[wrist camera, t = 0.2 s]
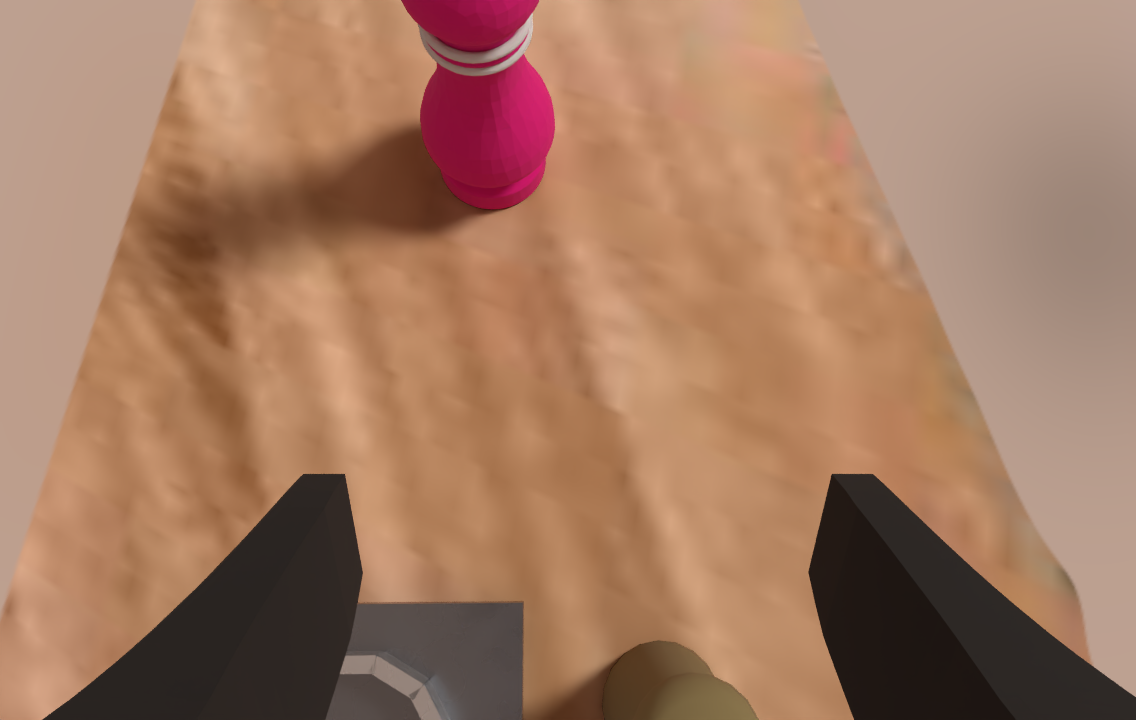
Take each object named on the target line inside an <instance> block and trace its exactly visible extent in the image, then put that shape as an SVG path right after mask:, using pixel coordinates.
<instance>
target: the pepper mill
mask: <svg viewBox="0 0 1136 720" xmlns="http://www.w3.org/2000/svg"><path fill="white" fill-rule="evenodd" d="M401 1H402V3H403V4H404V6H405V8H406V10H407V12H408V13H409V14H410V15H411V17H412V18H413V19H414V20H415V21H416V22H417V23H418V27H419V31H420V36H421V39H422V42H423V45H424V47H425V49H426V50H427V52H428V54H429V55H430V56H431V57H432V58H433V59H434V60H435V61H436V62H437V69H436V71H435V73H434V74H433V75H432V77H431V78H430V80H429V83H428V85H427V87H426V89H425V92H424V96H423V100H422V105H421V110H420V122H421V130H422V136H423V141H424V144H425V146H426V149H427V151H428V153H429V154H430V156H431V158H432V160H433V161H434V162H435V163H436V165H437V166H438V167H439V168H440V170H441V174H442V177H443V179H444V181H445V183H446V185H447V187H448V188H449V189H450V191H451V192H452V193H453V194H454V195H455V196H456V197H458V198H459V199H460V200H462V201H463V202H465V203H467V204H469V205H472V206H475V207H478V208H483V209H502V208H507V207H510V206H513V205H515V204H517V203H519V202H521V201H523V200H524V199H526V198H527V197H528V196H530V195H531V194H532V193H533V192H534V190H535V189H536V188H537V186H538V185H539V183H540V182H541V179H542V177H543V174H544V171H545V164H546V156H547V154H548V151H549V149H550V147H551V145H552V141H553V138H554V131H555V119H554V111H553V105H552V100H551V97H550V95H549V92H548V90H547V88H546V86H545V83H544V82H543V80H542V78H541V76H540V75H539V74H538V73H537V71H536V70H535V69H534V68H533V67H532V66H531V64H530V63H529V62H528V61H527V59H526V57H525V55H524V53H525V51H526V49H527V47H528V46H529V43H530V41H531V37H532V32H533V21H532V17H533V11H534V10H535V8H536V6H537V4H538V2H539V0H401Z"/></svg>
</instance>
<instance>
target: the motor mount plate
mask: <svg viewBox="0 0 1136 720" xmlns="http://www.w3.org/2000/svg"><path fill="white" fill-rule="evenodd" d="M523 609H524V601H508V602H388V603H357V609H356V614H355V619H354V624H353V629H352V634H351V639H350V642H349V645H348V649H347V652H346V655H345V659H344V662H343V665H342V668H341V671H340V675H339V678H338V681H337V684H336V688H335V691H334V694H333V697H332V700H331V703H330V707H329V710H328V713H327V716H326V719H325V720H523Z"/></svg>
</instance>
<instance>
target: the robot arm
mask: <svg viewBox="0 0 1136 720" xmlns="http://www.w3.org/2000/svg"><path fill="white" fill-rule="evenodd" d="M362 574H363V571H362V566H361V560H360V555H359V549H358V544H357V538H356V533H355V527H354V522H353V516H352V511H351V505H350V500H349V494H348V489H347V483H346V478H345V474H303V475H302V476H301V477H300V478H299V479H298V480H297V481H296V482H295V483H294V484H293V485H292V486H291V487H290V488H289V489H288V491H287V492H286V493H285V494H284V495H283V496H282V497H281V498H280V499H279V501H278V502H277V503H276V504H275V505H274V506H273V507H272V508H271V510H270V511H269V512H268V513H267V514H266V515H265V516H264V517H263V518H262V519H261V521H260V522H259V523H258V524H257V525H256V526H255V527H254V528H253V529H252V530H251V532H250V533H249V534H248V535H247V536H246V537H245V538H244V539H243V540H242V541H241V542H240V543H239V545H238V546H237V547H236V548H235V549H234V550H233V551H232V552H231V553H230V554H229V555H228V556H227V557H226V558H225V559H224V560H223V561H222V562H221V563H220V564H219V565H218V566H217V567H216V569H215V570H214V571H213V572H212V573H211V574H210V575H209V576H208V577H207V578H206V579H205V580H204V581H203V582H202V583H201V584H200V585H199V586H198V587H197V588H196V589H195V590H194V591H193V592H192V593H191V594H190V595H189V596H188V597H187V598H185V599H184V600H183V601H182V602H181V603H180V604H179V605H178V606H177V607H176V608H175V609H174V610H173V611H172V612H171V613H170V614H169V615H168V616H167V617H166V618H165V619H163V620H162V621H161V622H160V623H159V624H158V625H157V626H156V627H155V628H154V629H153V630H152V631H151V632H150V633H149V634H147V635H146V636H145V637H144V638H143V639H142V640H141V641H140V642H139V643H137V644H136V645H135V646H134V647H133V648H132V649H131V650H129V651H128V652H127V653H126V654H125V655H124V656H123V657H121V658H120V659H119V660H118V661H117V662H116V663H114V664H113V665H112V666H111V667H110V668H108V669H107V670H106V671H105V672H103V673H102V674H101V675H100V676H99V677H97V678H96V679H95V680H94V681H93V682H91V683H90V684H89V685H88V686H87V687H85V688H84V689H83V690H81V691H80V692H79V693H78V694H76V695H75V696H74V697H72V698H71V699H70V700H69V701H67V702H66V703H64V704H63V705H62V706H60V707H59V708H58V709H56V710H55V711H54V712H52V713H51V714H49V715H48V716H47V717H45V718H44V719H43V720H325V719H326V716H327V713H328V710H329V707H330V703H331V700H332V697H333V694H334V691H335V688H336V684H337V681H338V678H339V675H340V671H341V668H342V665H343V662H344V659H345V655H346V652H347V649H348V645H349V642H350V639H351V634H352V629H353V624H354V619H355V614H356V609H357V603H358V597H359V592H360V586H361V580H362ZM809 577H810V581H811V586H812V590H813V595H814V599H815V604H816V608H817V612H818V616H819V620H820V624H821V628H822V633H823V636H824V639H825V642H826V645H827V648H828V650H829V653H830V656H831V659H832V661H833V664H834V667H835V670H836V672H837V675H838V678H839V680H840V683H841V686H842V689H843V691H844V694H845V697H846V699H847V702H848V704H849V707H850V710H851V712H852V715H853V718H854V720H1136V697H1135V696H1133V695H1132V694H1130V693H1129V692H1127V691H1126V690H1124V689H1123V688H1122V687H1120V686H1119V685H1118V684H1116V683H1115V682H1114V681H1112V680H1111V679H1109V678H1108V677H1107V676H1105V675H1104V674H1102V673H1101V672H1100V671H1098V670H1097V669H1096V668H1094V667H1093V666H1092V665H1090V664H1089V663H1087V662H1086V661H1085V660H1083V659H1082V658H1081V657H1079V656H1078V655H1077V654H1075V653H1074V652H1073V651H1071V650H1070V649H1069V648H1067V647H1066V646H1065V645H1064V644H1062V643H1061V642H1060V641H1058V640H1057V639H1056V638H1055V637H1053V636H1052V635H1051V634H1049V633H1048V632H1047V631H1046V630H1045V629H1043V628H1042V627H1041V626H1040V625H1039V624H1037V623H1036V622H1035V621H1034V620H1032V619H1031V618H1030V617H1029V616H1028V615H1026V614H1025V613H1024V612H1023V611H1022V610H1020V609H1019V608H1018V607H1017V606H1015V605H1014V604H1013V603H1012V602H1011V601H1009V600H1008V599H1007V598H1006V597H1005V596H1004V595H1003V594H1001V593H1000V592H999V591H998V590H997V589H996V588H994V587H993V586H992V585H991V584H990V583H989V582H988V581H986V580H985V579H984V578H983V577H982V576H981V575H980V574H979V573H978V572H976V571H975V570H974V569H973V568H972V567H971V566H970V565H969V564H968V563H967V562H965V561H964V560H963V559H962V558H961V557H960V556H959V555H958V554H957V553H956V552H955V551H953V550H952V549H951V548H950V547H949V546H948V545H947V544H946V543H945V542H944V541H943V540H942V539H941V538H940V537H939V536H937V535H936V534H935V533H934V532H933V531H932V530H931V529H930V528H929V527H928V526H927V525H926V524H925V523H924V522H923V521H922V520H921V519H920V518H919V517H918V516H917V515H916V514H914V513H913V512H912V511H911V510H910V509H909V508H908V507H907V506H906V505H905V504H904V503H903V502H902V501H901V500H900V499H899V498H898V497H897V496H896V495H895V494H894V493H893V492H892V491H891V490H890V489H888V488H887V487H886V486H885V485H884V484H883V483H882V482H881V481H880V480H879V479H878V478H877V477H876V476H874V475H873V474H832V475H831V480H830V484H829V488H828V492H827V496H826V501H825V505H824V509H823V513H822V517H821V522H820V526H819V530H818V534H817V538H816V543H815V547H814V551H813V555H812V559H811V564H810V568H809Z"/></svg>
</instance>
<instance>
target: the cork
mask: <svg viewBox="0 0 1136 720" xmlns="http://www.w3.org/2000/svg"><path fill="white" fill-rule="evenodd" d="M602 709H603V714H604V719H605V720H759V719H758V717H757V716H756V714H755V712H754V710H753V709H752V707H751V705H750V704H749V702H748V700H747V699H746V698H745V697H744V696H743V695H742V694H741V693H739V692H738V691H737V690H736V689H735V688H734V687H733V686H732V685H730V684H729V683H727V682H724V681H722V680H720V679H718V678H716V677H714V675H713V674H712V672H711V670H710V668H709V667H708V665H707V663H705V662H704V661H703V660H702V659H701V658H700V657H699V656H698V655H697V654H696V653H695V652H694V651H692V650H690V649H688V648H686V647H684V646H682V645H680V644H678V643H675V642H666V641H653V642H649V643H644V644H640V645H638V646H636V647H635V648H633V649H631V650H630V651H628V652H627V653H625V654H624V655H623V656H622V657H621V658H620V659H619V661H618V662H617V663H616V664H615V665H614V666H613V668H612V669H611V671H610V674H609V676H608V679H607V681H606V683H605V686H604V693H603V703H602Z"/></svg>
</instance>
